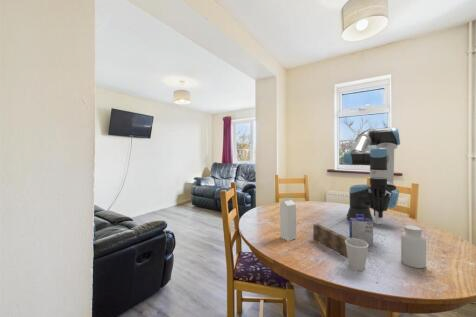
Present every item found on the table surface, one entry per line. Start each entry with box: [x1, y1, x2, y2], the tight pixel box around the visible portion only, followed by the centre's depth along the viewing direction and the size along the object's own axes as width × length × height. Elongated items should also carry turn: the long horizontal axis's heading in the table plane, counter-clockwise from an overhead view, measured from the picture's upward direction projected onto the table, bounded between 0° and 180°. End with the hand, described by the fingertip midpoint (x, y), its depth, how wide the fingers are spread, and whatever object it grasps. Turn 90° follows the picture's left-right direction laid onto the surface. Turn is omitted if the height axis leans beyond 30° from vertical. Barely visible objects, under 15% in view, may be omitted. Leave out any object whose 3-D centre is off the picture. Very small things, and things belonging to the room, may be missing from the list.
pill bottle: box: [400, 225, 427, 269], centre depth 88 cm, size 8×8×15 cm
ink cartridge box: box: [348, 214, 374, 247], centre depth 107 cm, size 10×6×14 cm, turn 78°
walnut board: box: [312, 223, 349, 259], centre depth 104 cm, size 22×2×8 cm, turn 19°
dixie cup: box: [345, 238, 369, 272], centre depth 86 cm, size 8×8×10 cm
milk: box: [279, 197, 297, 242], centre depth 115 cm, size 6×6×22 cm
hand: (378, 223), depth 111 cm, fingers closed
